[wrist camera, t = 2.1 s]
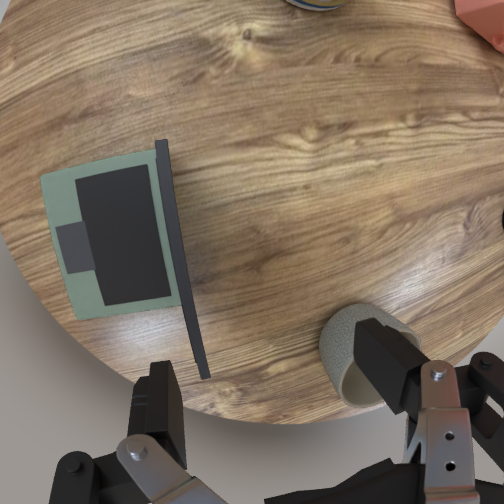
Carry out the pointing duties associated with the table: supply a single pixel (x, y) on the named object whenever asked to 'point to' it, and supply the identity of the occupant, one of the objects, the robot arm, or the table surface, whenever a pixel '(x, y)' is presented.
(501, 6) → the teapot
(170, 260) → the green laptop base
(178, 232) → the tablet screen
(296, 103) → the table surface
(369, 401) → the planter
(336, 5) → the supplement tub
